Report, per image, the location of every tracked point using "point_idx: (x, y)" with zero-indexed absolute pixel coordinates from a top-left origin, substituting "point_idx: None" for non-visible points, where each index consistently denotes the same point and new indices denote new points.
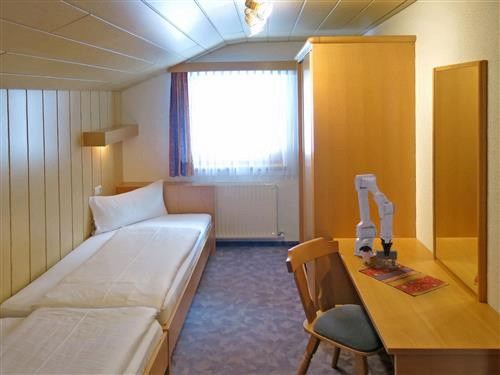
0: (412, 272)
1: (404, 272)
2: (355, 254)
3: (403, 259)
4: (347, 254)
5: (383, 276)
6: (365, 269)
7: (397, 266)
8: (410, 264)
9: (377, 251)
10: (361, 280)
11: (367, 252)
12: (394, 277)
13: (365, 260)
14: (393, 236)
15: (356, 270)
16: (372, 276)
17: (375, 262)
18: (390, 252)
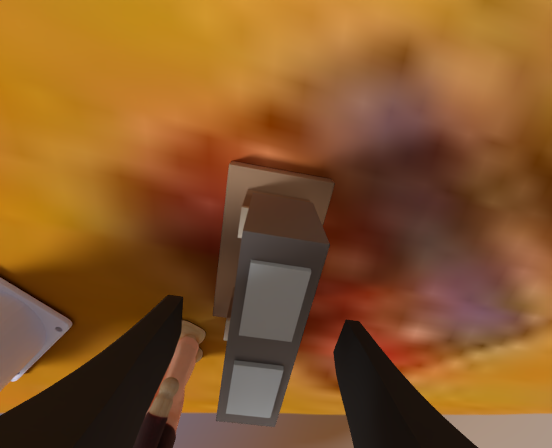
0: (466, 78)
1: (441, 152)
2: (20, 376)
3: (34, 46)
4: (16, 398)
5: (471, 304)
6: (315, 363)
7: (330, 187)
8: (213, 17)
9: (272, 419)
10: (487, 399)
11: (174, 420)
12: (519, 250)
13: (193, 366)
14: None
15: (325, 397)
16: (447, 352)
17: (213, 313)
18: (305, 312)
